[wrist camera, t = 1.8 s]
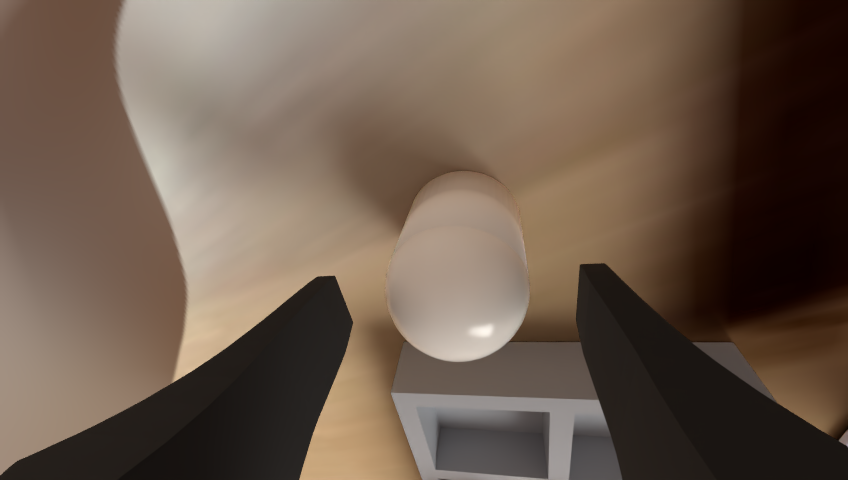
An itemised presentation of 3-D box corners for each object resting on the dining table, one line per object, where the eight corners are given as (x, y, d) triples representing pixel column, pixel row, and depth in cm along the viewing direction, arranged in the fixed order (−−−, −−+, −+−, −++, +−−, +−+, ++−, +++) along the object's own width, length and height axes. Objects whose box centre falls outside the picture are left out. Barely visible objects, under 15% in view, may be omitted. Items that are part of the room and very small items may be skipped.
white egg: (518, 164, 13) (537, 271, 7) (521, 263, 15) (538, 397, 10) (400, 177, 14) (346, 279, 8) (420, 267, 16) (387, 392, 11)
